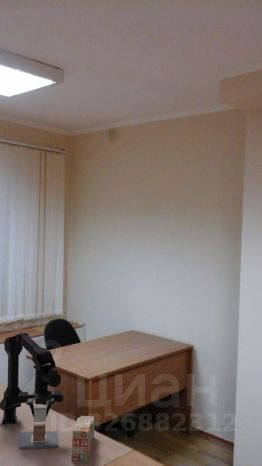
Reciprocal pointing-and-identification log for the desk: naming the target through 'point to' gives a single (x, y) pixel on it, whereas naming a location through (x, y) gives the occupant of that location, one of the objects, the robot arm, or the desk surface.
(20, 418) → the desk surface
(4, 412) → the robot arm
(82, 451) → the stack of blocks
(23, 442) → the blueprint board
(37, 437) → the walnut block
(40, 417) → the sage block
